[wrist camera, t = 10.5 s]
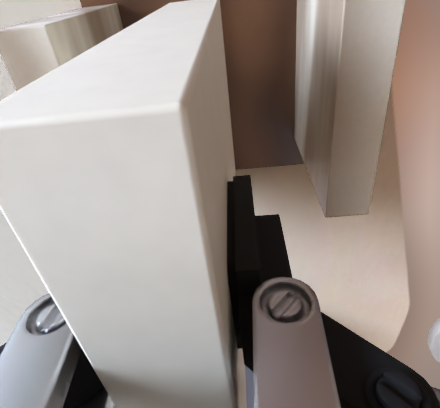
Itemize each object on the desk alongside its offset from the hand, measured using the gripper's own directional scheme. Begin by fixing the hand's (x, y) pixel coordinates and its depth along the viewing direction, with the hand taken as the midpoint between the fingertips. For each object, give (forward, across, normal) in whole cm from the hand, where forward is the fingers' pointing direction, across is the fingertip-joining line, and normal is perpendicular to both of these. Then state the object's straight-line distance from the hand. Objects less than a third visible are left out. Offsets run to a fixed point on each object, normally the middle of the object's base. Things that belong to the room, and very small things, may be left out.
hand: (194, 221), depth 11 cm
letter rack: (+19, 0, 0) cm, 19 cm away
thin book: (+10, 0, 0) cm, 10 cm away
